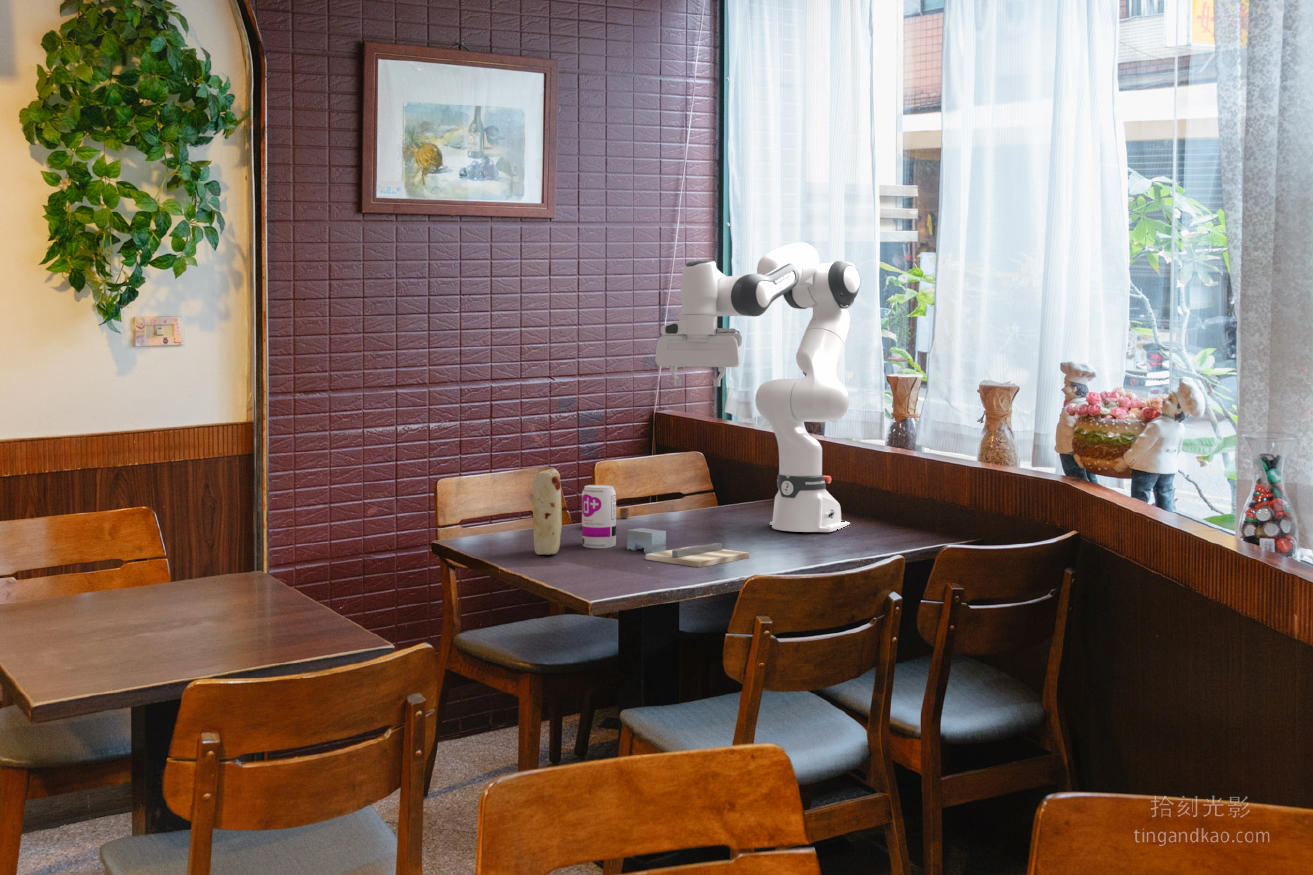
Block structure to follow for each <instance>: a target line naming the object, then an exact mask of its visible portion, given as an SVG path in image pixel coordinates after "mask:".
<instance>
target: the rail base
mask: <svg viewBox="0 0 1313 875" xmlns="http://www.w3.org/2000/svg"><path fill="white" fill-rule="evenodd" d="M696 546H697V545H692V546H686V547H685V546H684V547H680V548H679V547H678V548H675V549H674V548H673V549H669V550H668V549H666V551H661V552H655V553H645V560H647V561H652V562H653V561H655V562H661V563H666V564H667V563H668V564H674V565H680V566H681V565H682V566H686V567H687V566H688V567H693V568H703V567H709V566H713V565H719V564H723V563H725V564H726V563H728V562H735V561H739V560H746V559H750V552H747V551H740V550H733V549H732V550H730V549H724V548H722V550H719V551H713V552H708V553H702V554H696V555H691V556H685V557H680V558H675V557H672V550H678V549H684V548H690V547H696Z"/></svg>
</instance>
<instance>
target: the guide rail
mask: <svg viewBox="0 0 1313 875" xmlns="http://www.w3.org/2000/svg"><path fill="white" fill-rule="evenodd" d="M695 546H696V547H691V546H689V547H690V548H685V547H683V548H684V549H679V548H677V549H678V550H673V549H671V550H672V557H675V558H680V557H685V556H691V555H696V554H702V553H708V552H713V551H719V550H722V549H723V543H721V542H714V543H713V542H712V543H709V544H702V545H695Z"/></svg>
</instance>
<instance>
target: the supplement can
mask: <svg viewBox="0 0 1313 875" xmlns="http://www.w3.org/2000/svg"><path fill="white" fill-rule="evenodd" d="M581 545H582V546H583V547H585V548H589V549H609V548H613V546H614V547H615V546H616V545H617V492H616V490H615V488H614V485H610V484H589V485H584V488H583V489H582V491H581Z"/></svg>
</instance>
